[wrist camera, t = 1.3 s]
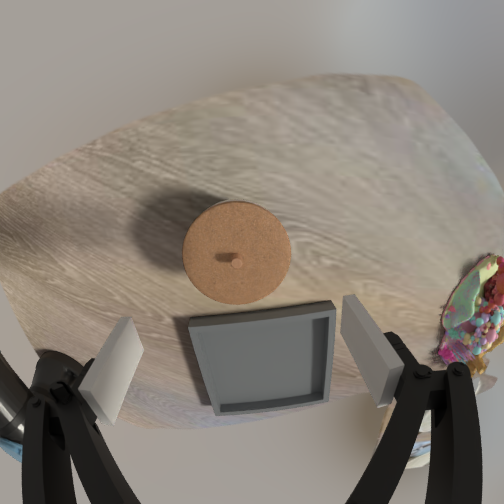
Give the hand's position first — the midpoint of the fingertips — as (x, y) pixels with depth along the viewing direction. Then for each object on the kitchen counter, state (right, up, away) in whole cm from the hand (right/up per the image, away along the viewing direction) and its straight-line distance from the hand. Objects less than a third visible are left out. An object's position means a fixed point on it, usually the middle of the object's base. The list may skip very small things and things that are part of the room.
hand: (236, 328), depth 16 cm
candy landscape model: (+48, -9, +26) cm, 55 cm away
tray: (+3, -13, +25) cm, 28 cm away
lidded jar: (-1, +7, +18) cm, 19 cm away
